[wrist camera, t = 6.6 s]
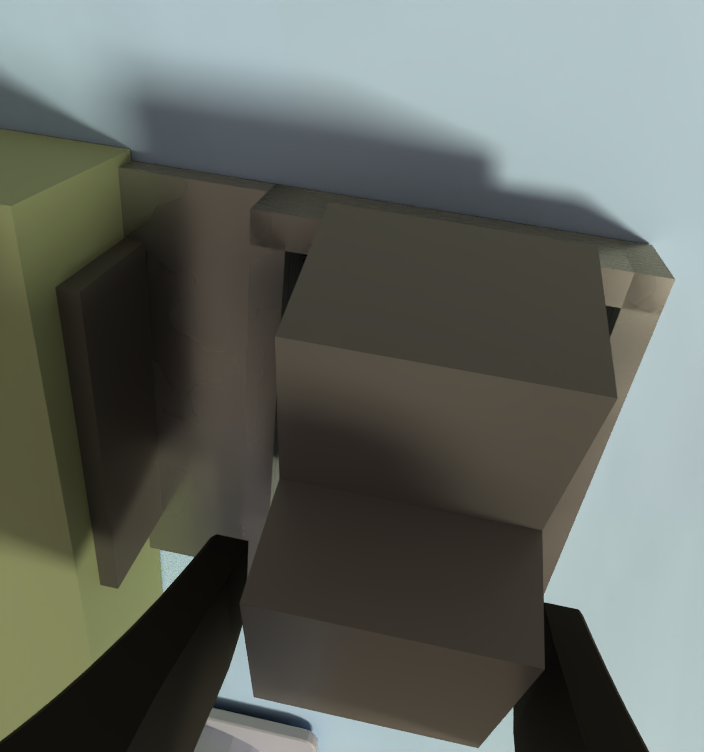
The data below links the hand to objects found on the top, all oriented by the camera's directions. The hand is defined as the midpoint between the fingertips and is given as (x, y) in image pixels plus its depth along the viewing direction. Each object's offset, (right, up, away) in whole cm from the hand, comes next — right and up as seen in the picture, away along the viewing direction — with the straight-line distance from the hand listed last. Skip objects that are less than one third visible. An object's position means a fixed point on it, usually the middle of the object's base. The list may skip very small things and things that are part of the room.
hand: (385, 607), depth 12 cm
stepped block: (+1, +4, 0) cm, 4 cm away
